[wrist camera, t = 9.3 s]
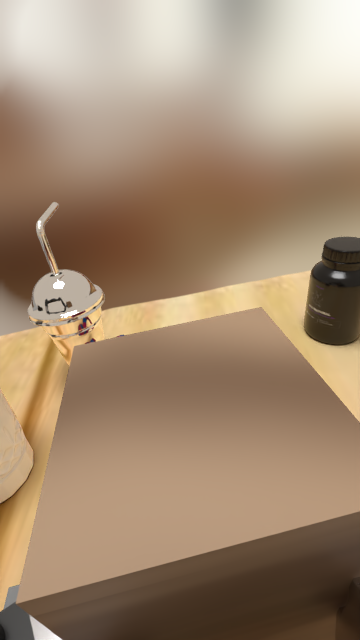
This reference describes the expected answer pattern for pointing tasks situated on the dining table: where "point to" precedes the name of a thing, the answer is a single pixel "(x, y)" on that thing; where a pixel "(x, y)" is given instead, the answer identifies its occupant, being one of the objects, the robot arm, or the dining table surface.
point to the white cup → (12, 452)
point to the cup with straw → (65, 302)
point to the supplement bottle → (335, 293)
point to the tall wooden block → (196, 491)
